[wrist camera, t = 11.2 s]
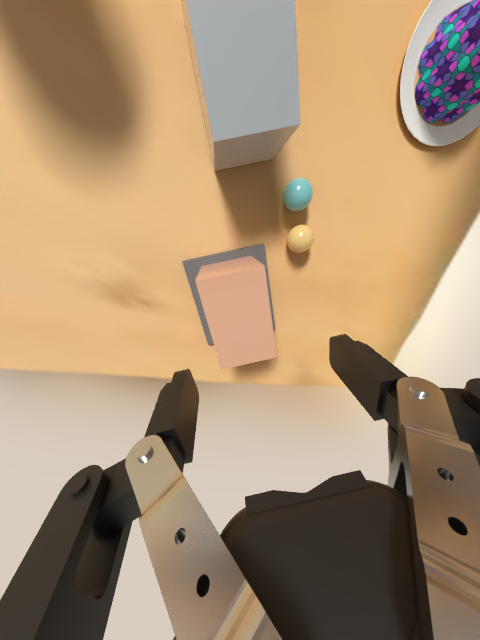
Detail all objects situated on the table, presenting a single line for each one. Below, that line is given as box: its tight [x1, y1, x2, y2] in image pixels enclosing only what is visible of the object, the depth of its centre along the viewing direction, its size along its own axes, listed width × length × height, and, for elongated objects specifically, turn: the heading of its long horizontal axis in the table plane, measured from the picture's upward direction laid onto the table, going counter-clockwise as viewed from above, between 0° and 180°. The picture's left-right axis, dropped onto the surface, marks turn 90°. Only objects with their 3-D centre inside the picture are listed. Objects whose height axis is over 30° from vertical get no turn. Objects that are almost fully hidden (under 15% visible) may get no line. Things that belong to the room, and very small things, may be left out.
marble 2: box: [287, 225, 314, 253], centre depth 23 cm, size 3×3×3 cm
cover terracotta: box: [195, 256, 277, 370], centre depth 23 cm, size 6×10×8 cm, turn 11°
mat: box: [183, 244, 275, 345], centre depth 26 cm, size 10×12×1 cm
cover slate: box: [181, 0, 300, 171], centre depth 15 cm, size 6×10×8 cm, turn 11°
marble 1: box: [283, 178, 313, 211], centre depth 21 cm, size 3×3×3 cm
